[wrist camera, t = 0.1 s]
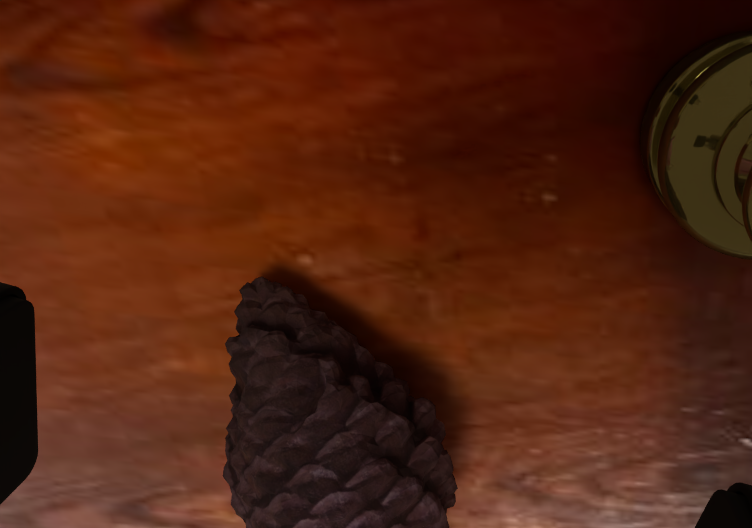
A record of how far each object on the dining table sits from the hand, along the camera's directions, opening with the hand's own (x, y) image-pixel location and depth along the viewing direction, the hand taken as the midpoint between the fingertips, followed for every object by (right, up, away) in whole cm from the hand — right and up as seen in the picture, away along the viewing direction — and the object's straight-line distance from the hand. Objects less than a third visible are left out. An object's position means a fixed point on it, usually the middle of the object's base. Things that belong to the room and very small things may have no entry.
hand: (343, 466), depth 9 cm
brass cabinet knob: (+14, +8, +16) cm, 23 cm away
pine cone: (0, -4, +24) cm, 25 cm away
